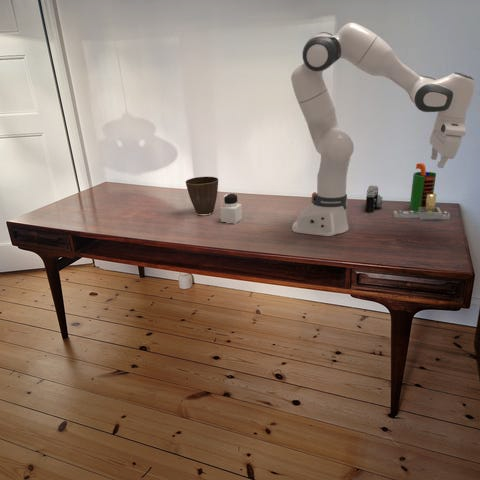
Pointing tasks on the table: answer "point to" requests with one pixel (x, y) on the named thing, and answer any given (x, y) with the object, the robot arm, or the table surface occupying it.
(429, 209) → the link pin
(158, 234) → the table surface
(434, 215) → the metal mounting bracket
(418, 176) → the motor
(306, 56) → the robot arm
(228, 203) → the medicine bottle
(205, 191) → the plant pot
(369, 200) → the camera
